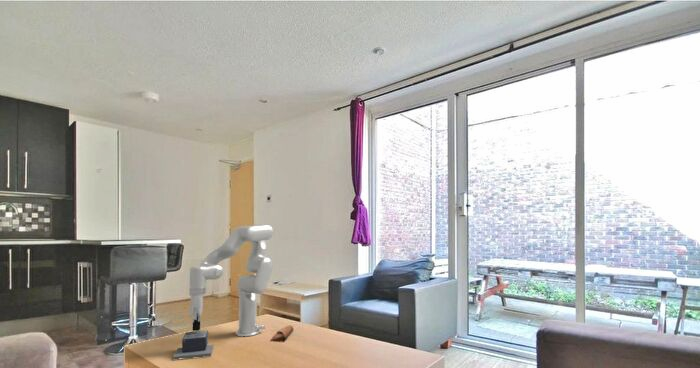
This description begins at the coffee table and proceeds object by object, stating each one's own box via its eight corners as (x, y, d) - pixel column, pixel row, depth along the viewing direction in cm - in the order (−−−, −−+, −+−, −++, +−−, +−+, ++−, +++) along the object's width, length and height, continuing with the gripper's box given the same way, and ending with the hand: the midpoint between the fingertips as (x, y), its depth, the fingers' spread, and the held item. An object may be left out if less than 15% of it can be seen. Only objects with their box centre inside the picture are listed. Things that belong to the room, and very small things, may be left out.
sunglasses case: (278, 331, 209) (284, 320, 210) (289, 337, 208) (295, 327, 209) (269, 341, 191) (275, 329, 192) (280, 348, 191) (287, 337, 191)
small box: (185, 345, 181) (181, 353, 171) (185, 332, 182) (181, 338, 172) (208, 343, 184) (205, 350, 174) (208, 330, 185) (206, 336, 175)
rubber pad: (213, 348, 182) (213, 344, 182) (210, 356, 171) (211, 353, 171) (177, 351, 178) (178, 348, 178) (172, 360, 167) (173, 356, 167)
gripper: (191, 289, 189) (190, 326, 187) (186, 294, 175) (185, 335, 173) (207, 288, 191) (206, 325, 189) (203, 293, 177) (202, 334, 175)
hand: (196, 330), depth 181 cm, fingers closed
